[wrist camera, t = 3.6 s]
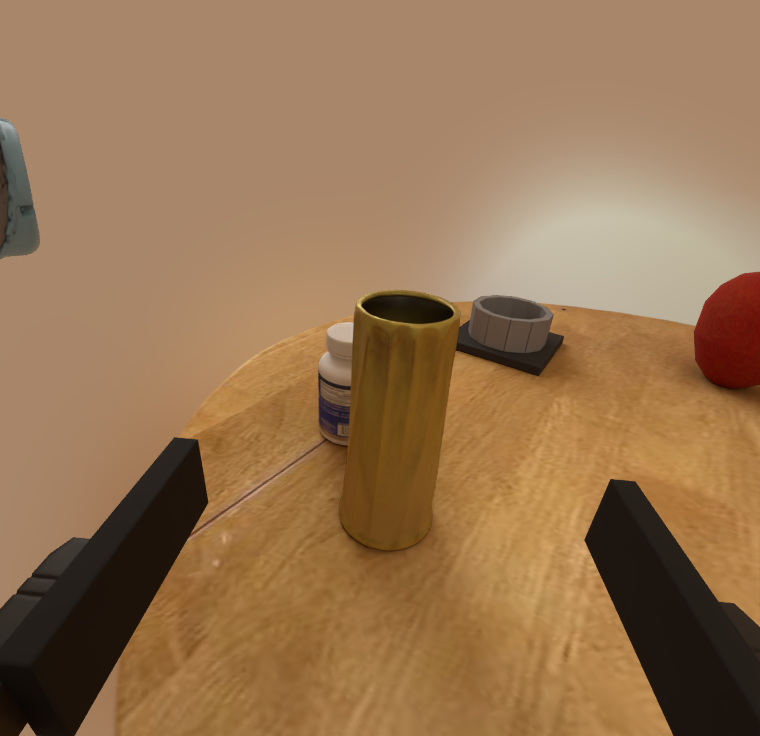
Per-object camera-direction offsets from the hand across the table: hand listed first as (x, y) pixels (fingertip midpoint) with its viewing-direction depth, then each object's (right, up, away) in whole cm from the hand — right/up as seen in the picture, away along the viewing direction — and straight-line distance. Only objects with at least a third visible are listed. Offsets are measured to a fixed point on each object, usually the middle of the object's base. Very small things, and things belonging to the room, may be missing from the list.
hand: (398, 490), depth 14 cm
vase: (0, -6, +14) cm, 15 cm away
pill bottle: (-3, -1, +22) cm, 22 cm away
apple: (+40, +2, +35) cm, 53 cm away
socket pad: (+15, +7, +40) cm, 44 cm away
